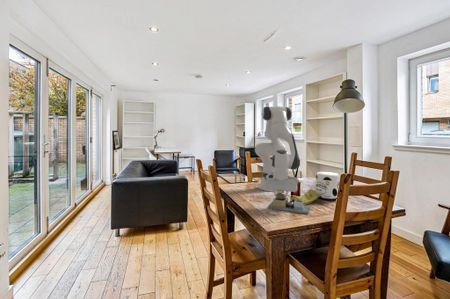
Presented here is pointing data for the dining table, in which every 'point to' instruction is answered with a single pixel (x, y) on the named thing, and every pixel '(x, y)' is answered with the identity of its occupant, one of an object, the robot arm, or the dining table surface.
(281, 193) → the valve stub
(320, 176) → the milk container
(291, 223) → the dining table surface
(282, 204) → the manifold
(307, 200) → the plastic component
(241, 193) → the dining table surface
